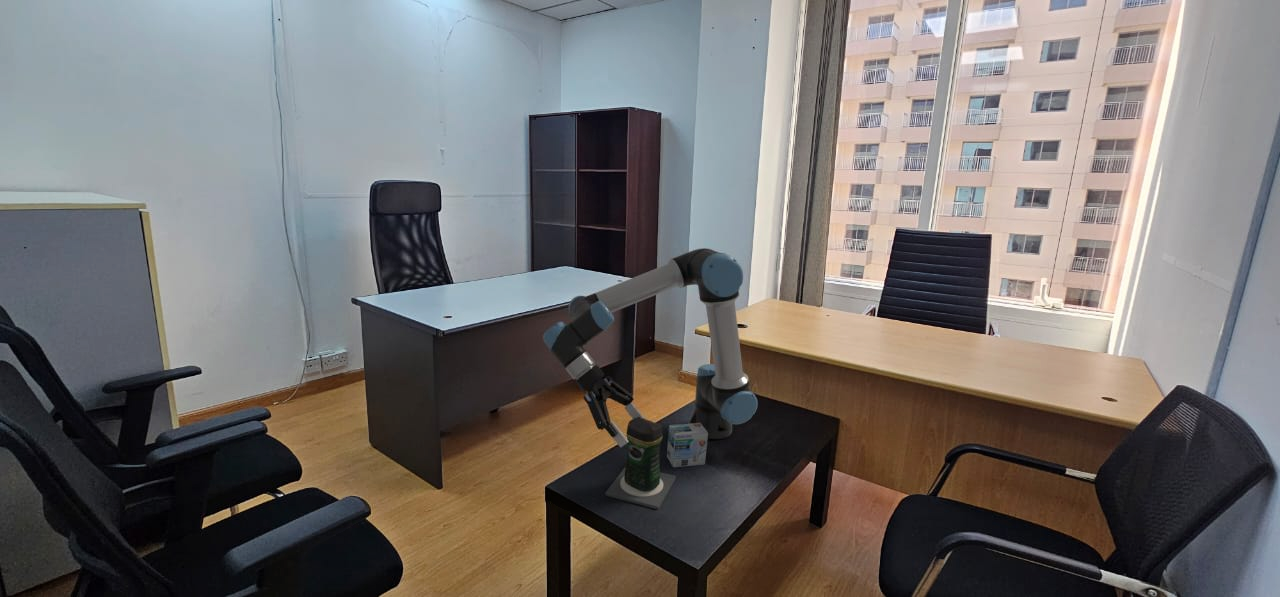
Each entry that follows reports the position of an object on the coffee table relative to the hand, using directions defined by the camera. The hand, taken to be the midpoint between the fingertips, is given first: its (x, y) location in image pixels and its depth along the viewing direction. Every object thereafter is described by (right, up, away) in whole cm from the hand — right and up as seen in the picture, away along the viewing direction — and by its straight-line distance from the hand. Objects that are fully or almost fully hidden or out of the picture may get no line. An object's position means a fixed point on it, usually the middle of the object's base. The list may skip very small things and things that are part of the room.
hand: (633, 433), depth 144 cm
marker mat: (+2, -16, +3) cm, 16 cm away
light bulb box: (+16, -13, +18) cm, 27 cm away
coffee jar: (+2, -15, +3) cm, 15 cm away
